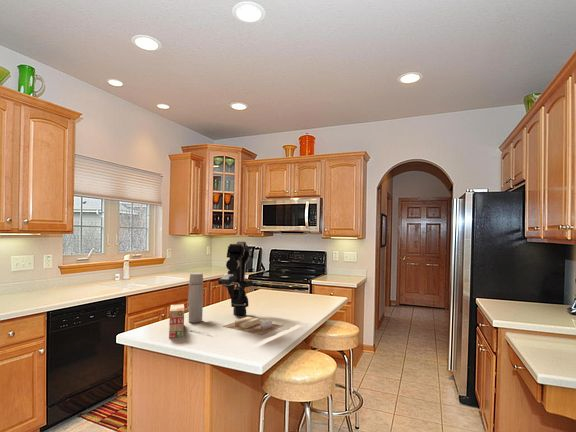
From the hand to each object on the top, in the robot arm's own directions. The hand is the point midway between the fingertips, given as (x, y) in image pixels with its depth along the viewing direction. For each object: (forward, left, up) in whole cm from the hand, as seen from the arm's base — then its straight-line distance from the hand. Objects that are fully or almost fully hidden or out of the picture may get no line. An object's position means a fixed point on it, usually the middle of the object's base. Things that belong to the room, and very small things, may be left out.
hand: (235, 299), depth 172 cm
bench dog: (+20, 0, -12) cm, 23 cm away
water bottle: (-23, -6, -13) cm, 27 cm away
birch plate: (+8, 0, -12) cm, 14 cm away
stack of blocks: (-16, -23, -13) cm, 31 cm away
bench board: (+12, 0, -13) cm, 18 cm away
